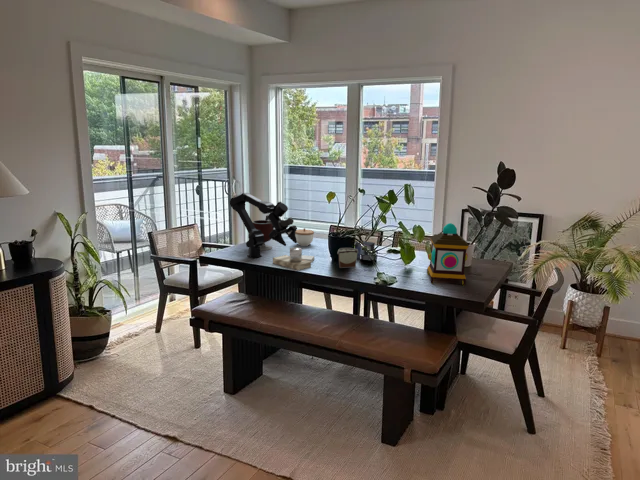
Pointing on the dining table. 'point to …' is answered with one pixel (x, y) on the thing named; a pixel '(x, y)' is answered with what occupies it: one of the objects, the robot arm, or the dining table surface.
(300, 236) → the lidded bowl
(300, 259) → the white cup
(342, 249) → the food container
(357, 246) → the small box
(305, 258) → the block
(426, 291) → the dining table surface
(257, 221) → the mate gourd
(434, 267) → the decorative lantern
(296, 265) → the plate
